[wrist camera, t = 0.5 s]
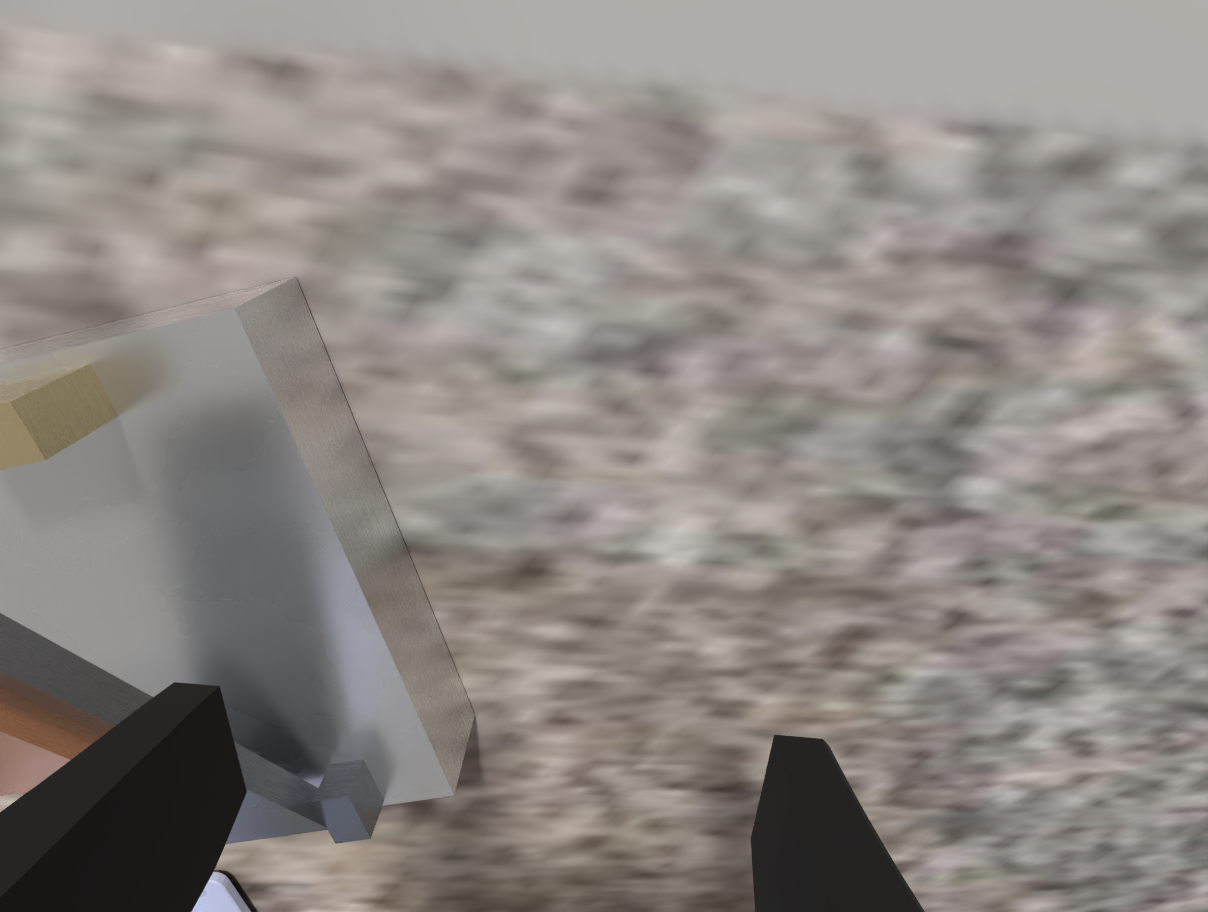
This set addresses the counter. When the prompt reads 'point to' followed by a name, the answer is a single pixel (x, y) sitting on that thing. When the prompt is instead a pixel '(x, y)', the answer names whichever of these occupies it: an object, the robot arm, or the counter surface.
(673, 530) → the counter surface
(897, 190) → the counter surface
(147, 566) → the base block
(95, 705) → the grey slab
